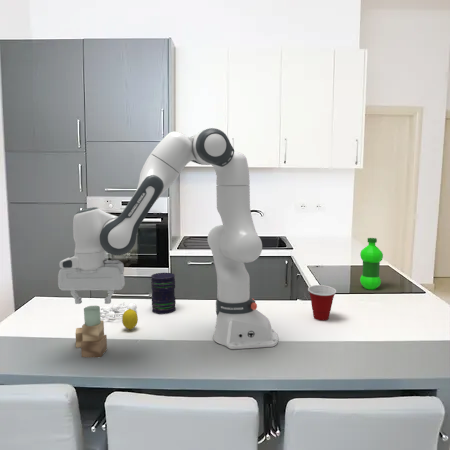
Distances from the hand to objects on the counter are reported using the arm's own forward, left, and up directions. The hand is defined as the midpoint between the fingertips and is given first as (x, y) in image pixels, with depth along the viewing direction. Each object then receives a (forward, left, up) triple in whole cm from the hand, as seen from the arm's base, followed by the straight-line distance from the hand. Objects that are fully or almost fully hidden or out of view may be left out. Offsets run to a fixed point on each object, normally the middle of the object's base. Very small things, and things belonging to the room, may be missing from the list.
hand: (93, 303), depth 129 cm
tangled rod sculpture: (+6, -34, -17) cm, 38 cm away
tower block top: (0, 0, -12) cm, 12 cm away
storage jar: (-14, -42, -17) cm, 47 cm away
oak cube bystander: (+6, -7, -17) cm, 19 cm away
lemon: (-6, -20, -17) cm, 26 cm away
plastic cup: (-78, -35, -17) cm, 87 cm away
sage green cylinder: (0, 0, -7) cm, 7 cm away
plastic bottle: (-110, -79, -17) cm, 136 cm away
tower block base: (0, 0, -17) cm, 17 cm away
